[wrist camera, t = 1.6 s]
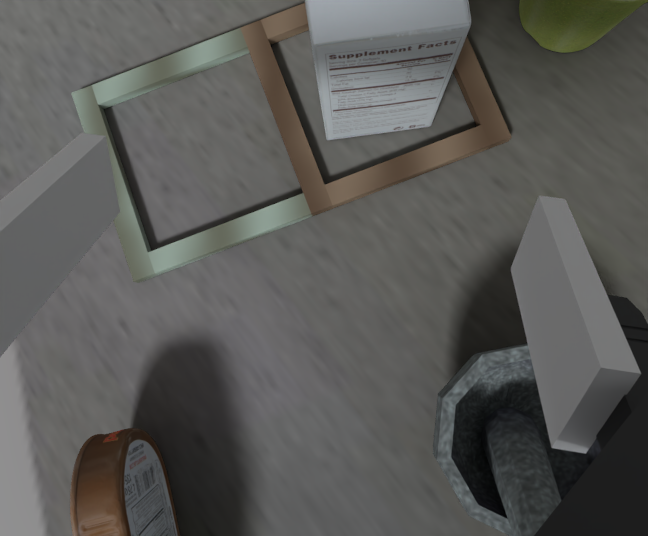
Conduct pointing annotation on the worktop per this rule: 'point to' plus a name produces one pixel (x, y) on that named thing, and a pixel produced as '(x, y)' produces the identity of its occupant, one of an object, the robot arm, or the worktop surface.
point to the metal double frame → (314, 191)
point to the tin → (121, 488)
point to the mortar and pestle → (503, 444)
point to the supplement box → (384, 61)
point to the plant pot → (572, 21)
